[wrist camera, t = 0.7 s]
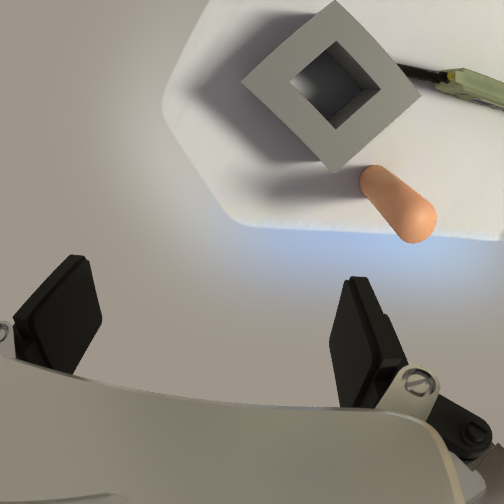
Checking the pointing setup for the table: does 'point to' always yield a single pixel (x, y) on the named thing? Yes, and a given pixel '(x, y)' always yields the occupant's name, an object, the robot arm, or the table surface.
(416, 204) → the peg
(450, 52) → the table surface
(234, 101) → the table surface
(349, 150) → the socket block
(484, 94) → the handheld radio
